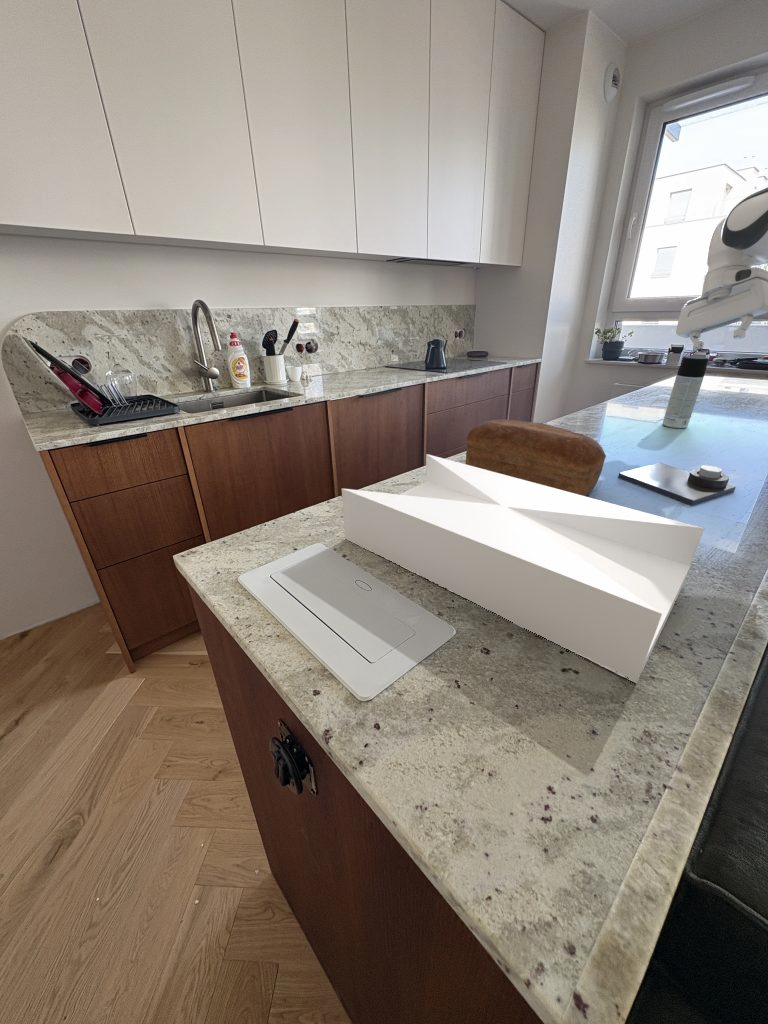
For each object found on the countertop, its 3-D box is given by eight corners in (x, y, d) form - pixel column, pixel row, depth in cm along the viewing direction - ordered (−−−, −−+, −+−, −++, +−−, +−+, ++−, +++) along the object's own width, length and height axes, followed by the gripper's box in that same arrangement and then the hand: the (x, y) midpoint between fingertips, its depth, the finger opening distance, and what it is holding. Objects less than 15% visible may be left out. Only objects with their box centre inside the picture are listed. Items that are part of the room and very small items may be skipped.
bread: (487, 458, 106) (492, 409, 100) (604, 488, 88) (618, 431, 83) (455, 473, 97) (458, 421, 91) (578, 510, 79) (591, 448, 74)
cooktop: (734, 492, 86) (740, 478, 84) (691, 506, 80) (696, 491, 79) (659, 467, 99) (663, 454, 97) (617, 477, 93) (620, 465, 92)
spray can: (685, 424, 130) (707, 356, 121) (689, 430, 125) (712, 359, 116) (660, 422, 133) (680, 355, 124) (663, 427, 127) (683, 358, 118)
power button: (723, 477, 86) (726, 469, 85) (712, 480, 84) (715, 472, 84) (704, 472, 89) (707, 464, 88) (694, 475, 87) (697, 467, 87)
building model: (345, 539, 71) (341, 488, 67) (424, 497, 86) (426, 453, 81) (636, 684, 44) (662, 613, 40) (682, 587, 58) (704, 527, 54)
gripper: (674, 301, 112) (667, 353, 113) (765, 264, 93) (756, 327, 93) (690, 306, 114) (684, 357, 115) (782, 271, 95) (774, 333, 96)
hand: (717, 344), depth 104 cm, fingers open, 8 cm apart
